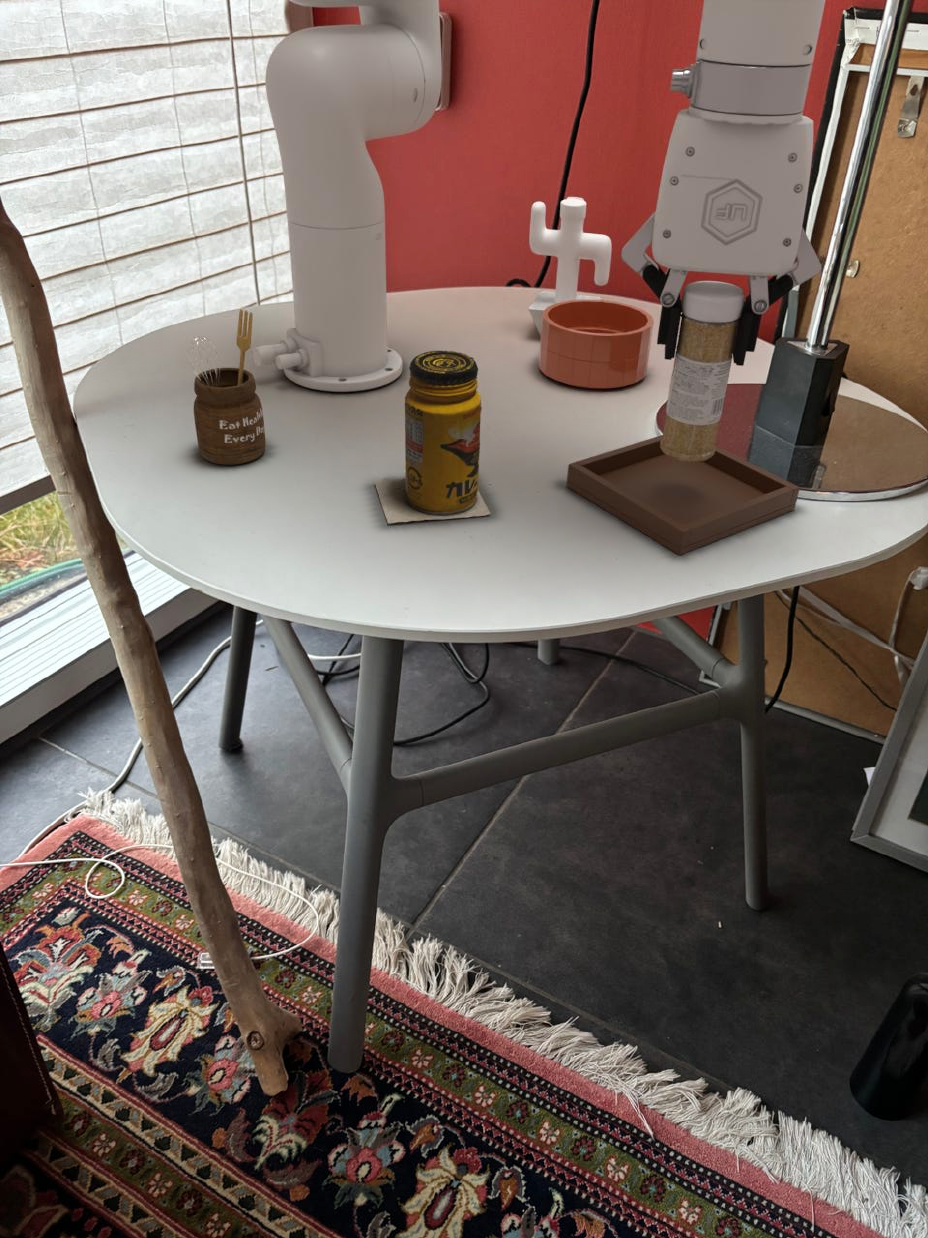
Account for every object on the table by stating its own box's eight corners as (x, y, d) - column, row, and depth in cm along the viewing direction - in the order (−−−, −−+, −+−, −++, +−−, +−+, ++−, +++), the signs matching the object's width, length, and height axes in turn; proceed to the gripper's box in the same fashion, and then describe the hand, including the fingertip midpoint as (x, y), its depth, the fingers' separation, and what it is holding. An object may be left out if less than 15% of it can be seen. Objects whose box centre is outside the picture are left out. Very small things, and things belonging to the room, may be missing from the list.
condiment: (490, 516, 80) (497, 374, 73) (387, 525, 78) (384, 381, 71) (470, 475, 85) (474, 341, 78) (374, 483, 84) (369, 346, 77)
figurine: (596, 348, 112) (612, 210, 104) (517, 338, 114) (525, 202, 106) (606, 328, 118) (621, 196, 109) (530, 319, 120) (538, 189, 111)
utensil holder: (185, 453, 87) (164, 321, 80) (238, 431, 92) (223, 303, 85) (230, 473, 85) (212, 337, 78) (282, 449, 89) (271, 317, 82)
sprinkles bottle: (683, 435, 83) (710, 275, 76) (726, 454, 80) (758, 289, 73) (647, 449, 81) (671, 285, 73) (690, 469, 78) (719, 300, 70)
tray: (679, 555, 75) (683, 532, 74) (566, 486, 84) (568, 463, 83) (794, 509, 82) (800, 487, 81) (678, 449, 91) (681, 428, 90)
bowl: (586, 400, 100) (592, 342, 96) (517, 364, 107) (520, 310, 104) (667, 377, 105) (676, 322, 102) (596, 345, 113) (602, 293, 110)
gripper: (619, 92, 63) (591, 364, 74) (889, 106, 61) (821, 384, 72) (623, 79, 69) (597, 332, 80) (870, 91, 67) (809, 349, 78)
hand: (703, 354), depth 76 cm, fingers closed on sprinkles bottle, 4 cm apart
